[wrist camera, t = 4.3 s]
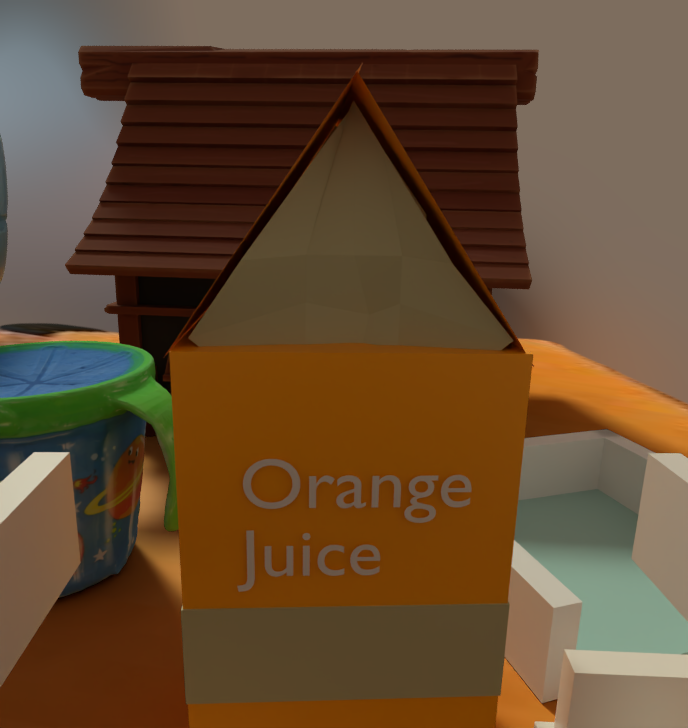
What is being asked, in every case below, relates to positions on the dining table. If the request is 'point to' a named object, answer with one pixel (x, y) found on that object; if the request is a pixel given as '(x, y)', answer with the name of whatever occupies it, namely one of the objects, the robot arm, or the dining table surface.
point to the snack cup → (89, 437)
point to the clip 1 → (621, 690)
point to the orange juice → (347, 456)
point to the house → (283, 160)
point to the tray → (581, 559)
